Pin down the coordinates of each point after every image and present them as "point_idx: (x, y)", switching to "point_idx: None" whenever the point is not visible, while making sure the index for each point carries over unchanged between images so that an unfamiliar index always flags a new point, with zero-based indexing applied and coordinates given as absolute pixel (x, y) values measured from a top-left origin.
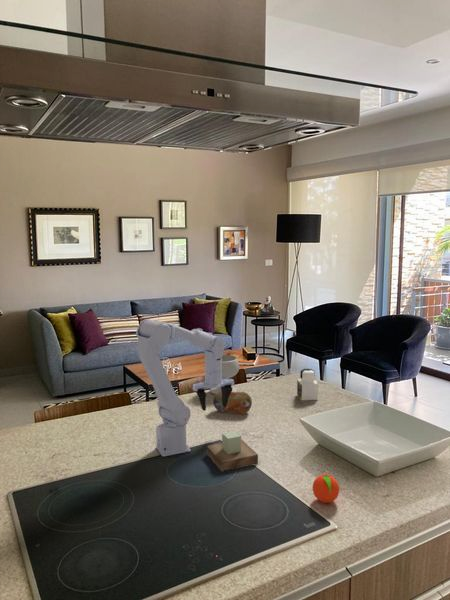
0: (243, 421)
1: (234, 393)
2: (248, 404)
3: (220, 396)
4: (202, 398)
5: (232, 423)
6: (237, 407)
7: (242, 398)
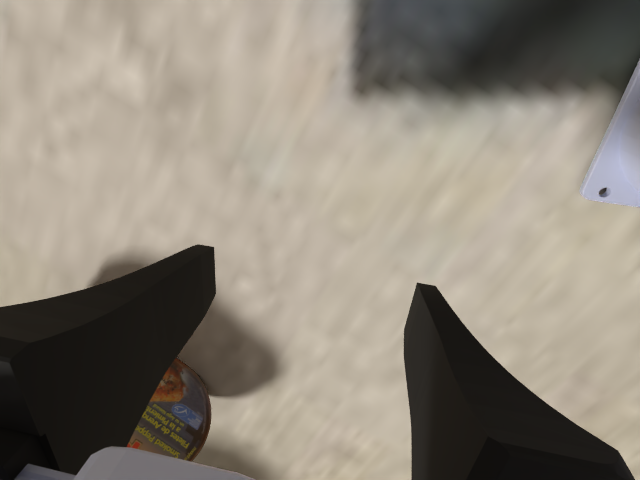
0: (130, 242)
1: None
2: None
3: (155, 451)
4: (515, 388)
5: None
6: None
7: None
